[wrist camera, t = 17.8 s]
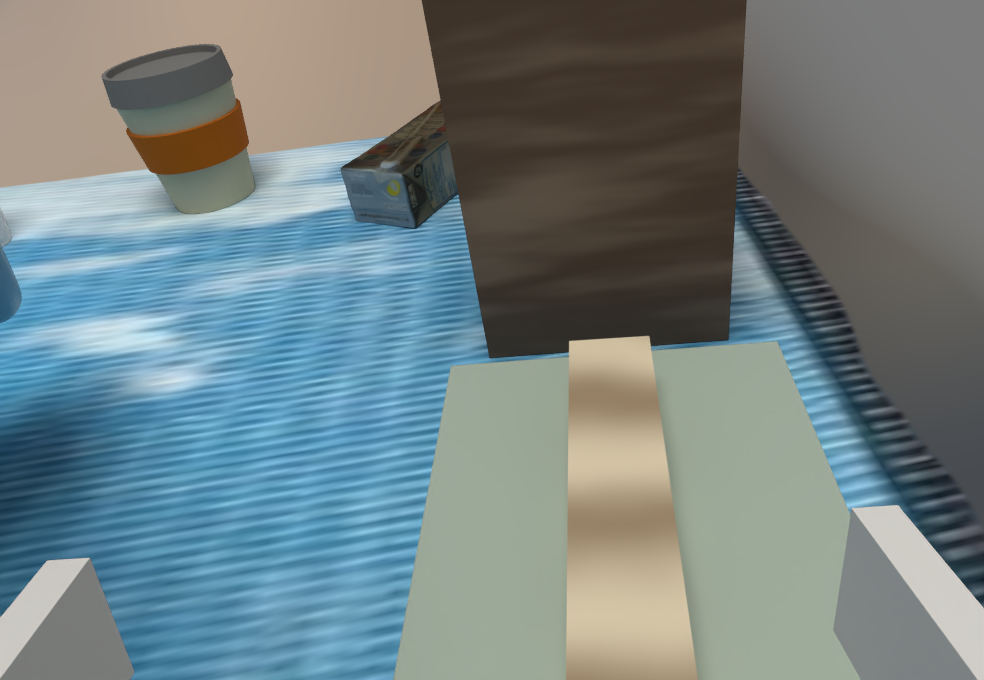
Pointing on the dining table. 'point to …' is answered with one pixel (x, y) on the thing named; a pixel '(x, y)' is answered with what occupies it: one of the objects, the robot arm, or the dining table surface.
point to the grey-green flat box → (697, 507)
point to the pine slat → (621, 523)
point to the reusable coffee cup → (186, 124)
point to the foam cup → (4, 231)
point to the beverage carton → (403, 174)
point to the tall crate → (594, 164)
